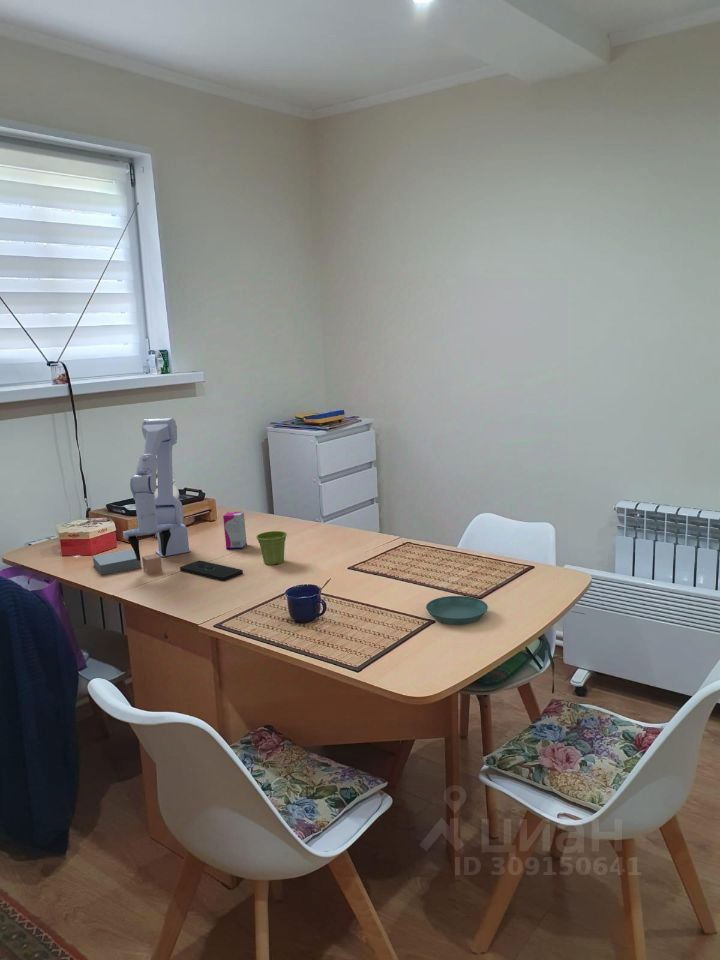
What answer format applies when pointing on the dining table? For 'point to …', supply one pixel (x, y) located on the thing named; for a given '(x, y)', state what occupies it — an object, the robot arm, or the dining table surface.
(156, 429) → the robot arm
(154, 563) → the pale pink cube
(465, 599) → the saucer
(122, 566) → the base board
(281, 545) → the plant pot
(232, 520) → the supplement box
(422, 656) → the dining table surface
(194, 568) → the smart home device
